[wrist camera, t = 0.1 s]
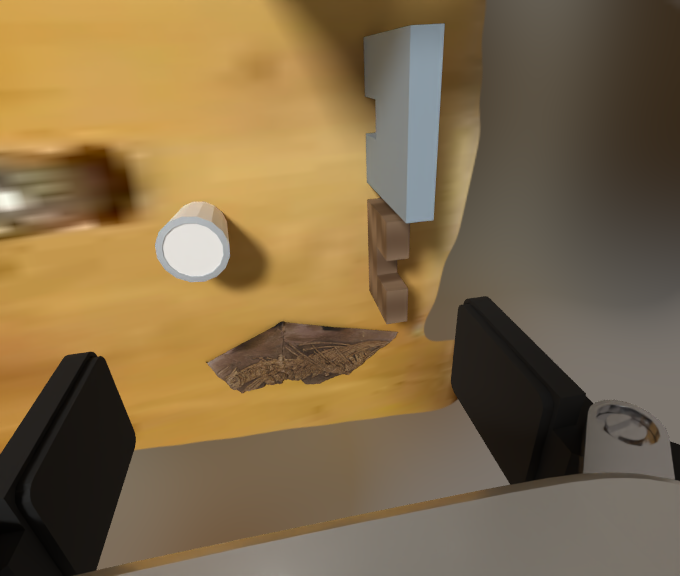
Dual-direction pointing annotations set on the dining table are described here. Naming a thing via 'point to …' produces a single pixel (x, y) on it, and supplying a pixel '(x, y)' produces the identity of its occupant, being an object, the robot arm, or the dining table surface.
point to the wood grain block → (387, 260)
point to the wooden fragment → (297, 355)
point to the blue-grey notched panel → (405, 117)
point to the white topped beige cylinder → (194, 243)
